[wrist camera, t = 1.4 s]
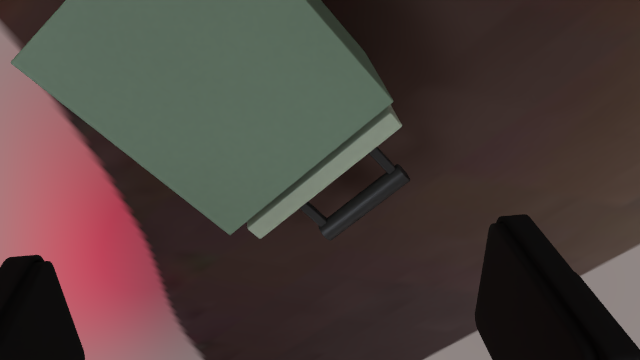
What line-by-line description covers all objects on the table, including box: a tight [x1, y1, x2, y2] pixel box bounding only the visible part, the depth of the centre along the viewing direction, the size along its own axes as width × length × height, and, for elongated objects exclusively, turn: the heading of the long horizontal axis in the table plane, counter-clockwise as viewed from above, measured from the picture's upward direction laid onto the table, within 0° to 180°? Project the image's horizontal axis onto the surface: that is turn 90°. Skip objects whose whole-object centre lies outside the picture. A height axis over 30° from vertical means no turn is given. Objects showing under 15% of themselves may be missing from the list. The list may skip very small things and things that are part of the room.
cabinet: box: [11, 0, 393, 235], centre depth 31 cm, size 15×13×9 cm
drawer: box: [247, 105, 410, 240], centre depth 33 cm, size 18×11×7 cm, turn 41°
